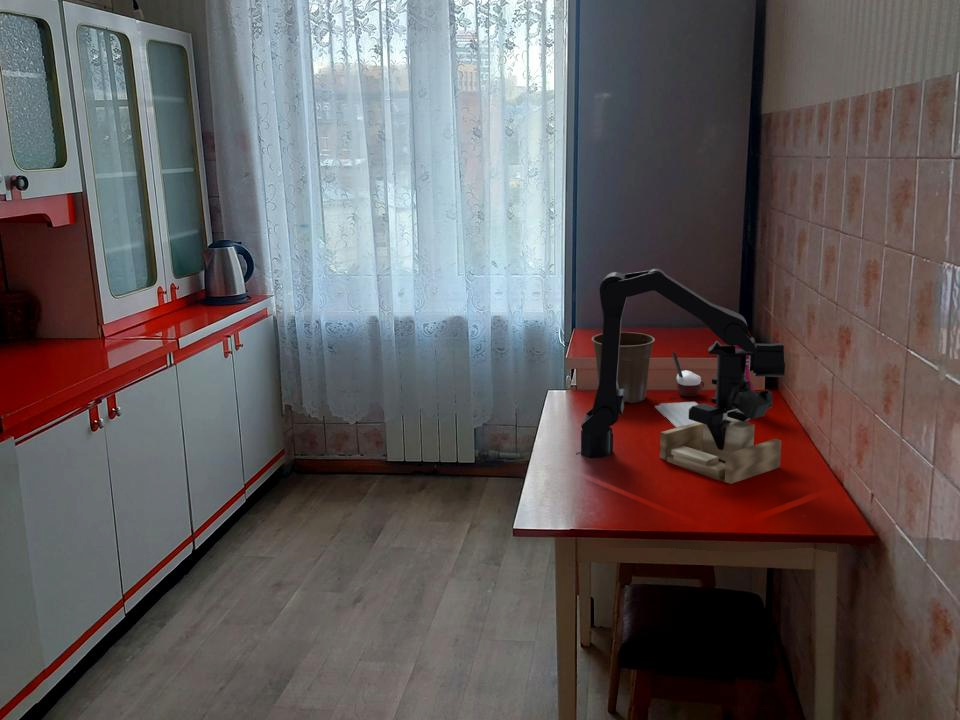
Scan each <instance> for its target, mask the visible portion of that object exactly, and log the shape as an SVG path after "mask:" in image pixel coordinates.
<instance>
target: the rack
mask: <svg viewBox="0 0 960 720" xmlns="http://www.w3.org/2000/svg"><path fill="white" fill-rule="evenodd" d="M659 444H660V445H659V447H660V448H659V450H660V451H659V459H661V460H664V461H667V457H669V456H672V454H671V451H672V450H673V449H676V448H679V447H682V446H685V447H689V448H692V449H695V450H698V451H701V452H702V447H703V423H699V422H696V423H692V424H689V425H685V426H680V427H674V428H671V429H667V430H664V431H660V443H659ZM781 451H782V440H780V439H778V438H774V439H771V440H767V441H764V442H761V443H757V444H755V445H754V446H751V447H747V448H744V449H741V450H738V451H734V452H731V453H728V454H726V461H724V460H721V459H718V462H721V463H724V464H726V465H725V479H723V480H720V481H721V482H725V483H727V484H730V485H732V484H735V483H737V482H740V481H744V480H747V479H750V478H753V477H756V476H759V475H761V474H764V473H767V472H770V471H773V470H776V469H779V468H781Z"/></svg>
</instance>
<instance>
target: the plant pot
mask: <svg viewBox="0 0 960 720" xmlns="http://www.w3.org/2000/svg"><path fill="white" fill-rule="evenodd" d="M602 335H603V332H602V333H599V334H596V335H594V336H592V337H591V342H592V343H593V350H594V351H593V352H594V355H595V359H596V371H597V381H598V382H597V383H598V386H599V380H600V365H601V350H602ZM655 340H656V339H655V337H653V336H652V335H650V334H646V333H641V332H634V331H633V332H632V331H631V332H629V331H621V334H620V349H619V363H618V377H617V381H618V387H619V389H625V392H624V396H623V403H624V404H625V403H628V404H629V403H630V404H634V403H640V402H642V401H644V400H645V399H646V397H647V386H648V377H649V369H650V362H651V361H650V360H651V356H652V355H653V354H652V353H653V345H654V343H655ZM598 386H597V387H598Z"/></svg>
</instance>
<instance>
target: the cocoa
mask: <svg viewBox="0 0 960 720" xmlns="http://www.w3.org/2000/svg"><path fill="white" fill-rule="evenodd" d="M671 353H672V354H671V355H672V358H673V360H674V364H675V368H676V370H677V371H676V372H677V374H676V377H675V378H676V379H675V380H677V381H676V389H677V392H678V394H679V395H680V396H681V395H682V396H681V397H683V396H685V398H695V397H696V396H697V395H699V394H700V392H701V390H703V389H704V386H705V383H704V382H703V381H702V377H701V376H700V375H698V374H696V373H694V372H692V371H691V370H686V369H685V370H682V368H681V366H680V363H679V360H678V356H677V353H676V352H673V351H672V352H671ZM694 396H695V397H694Z"/></svg>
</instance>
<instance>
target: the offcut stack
mask: <svg viewBox="0 0 960 720" xmlns="http://www.w3.org/2000/svg"><path fill="white" fill-rule="evenodd" d="M671 454H672V456H669V457H667V460H666V462H667V463H670V464H672V465H676V466H678V467H680V468H684V469H686V470H689V471H691V472H694V473H696V474H697V473H698V474H701V475H702V476H706V477H708V478H711V479H714V480H716V481H718V482H719V481H721V480H723V479H725V465H726V464H724V463H721V462H718V457H717V456H714V455H711V454H708V453H705V452H701V451H698V450H695V449H692V448H689V447H685V446H682V447H679V448H676V449H673V450H672V451H671Z"/></svg>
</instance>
